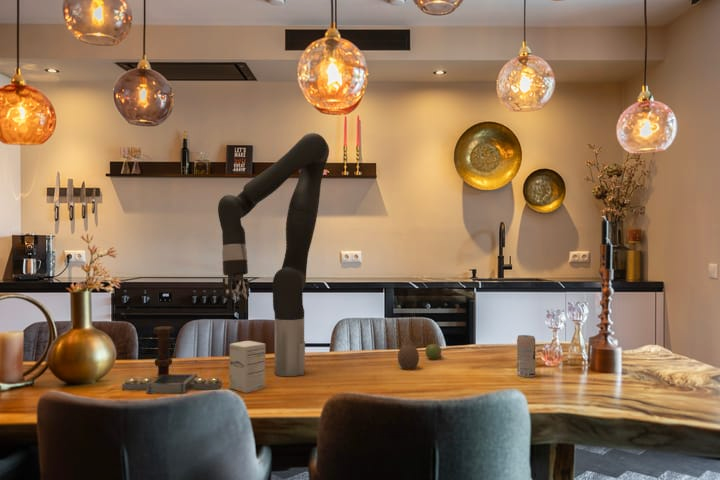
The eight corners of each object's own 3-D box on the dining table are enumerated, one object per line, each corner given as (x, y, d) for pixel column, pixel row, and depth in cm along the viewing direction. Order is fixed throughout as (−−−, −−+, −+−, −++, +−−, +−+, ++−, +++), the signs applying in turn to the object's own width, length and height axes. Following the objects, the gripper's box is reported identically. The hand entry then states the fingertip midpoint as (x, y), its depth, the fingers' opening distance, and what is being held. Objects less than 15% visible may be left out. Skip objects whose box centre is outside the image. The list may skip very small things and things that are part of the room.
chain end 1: (195, 382, 155) (195, 373, 155) (183, 393, 143) (183, 383, 143) (133, 383, 154) (133, 374, 154) (116, 394, 143) (116, 384, 143)
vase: (394, 369, 171) (394, 342, 171) (401, 365, 177) (401, 338, 177) (415, 371, 168) (415, 343, 168) (421, 366, 175) (421, 340, 175)
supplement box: (228, 388, 148) (228, 343, 148) (249, 383, 154) (249, 339, 154) (244, 393, 143) (244, 346, 143) (266, 388, 149) (266, 342, 149)
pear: (424, 344, 185) (427, 343, 195) (424, 359, 185) (427, 358, 194) (440, 344, 184) (442, 344, 194) (440, 360, 183) (442, 359, 193)
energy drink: (536, 374, 164) (536, 335, 164) (534, 378, 159) (534, 338, 159) (518, 372, 166) (518, 334, 166) (515, 376, 161) (515, 337, 162)
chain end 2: (224, 382, 155) (224, 373, 155) (215, 393, 144) (215, 383, 144) (163, 382, 154) (163, 373, 154) (148, 393, 143) (148, 384, 143)
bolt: (165, 379, 158) (165, 329, 158) (150, 378, 159) (150, 328, 159) (176, 374, 164) (176, 326, 164) (161, 374, 165) (161, 325, 165)
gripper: (236, 257, 158) (239, 312, 156) (254, 259, 172) (257, 310, 170) (213, 259, 159) (215, 313, 157) (233, 261, 173) (235, 311, 171)
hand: (237, 311), depth 164 cm, fingers open, 8 cm apart
